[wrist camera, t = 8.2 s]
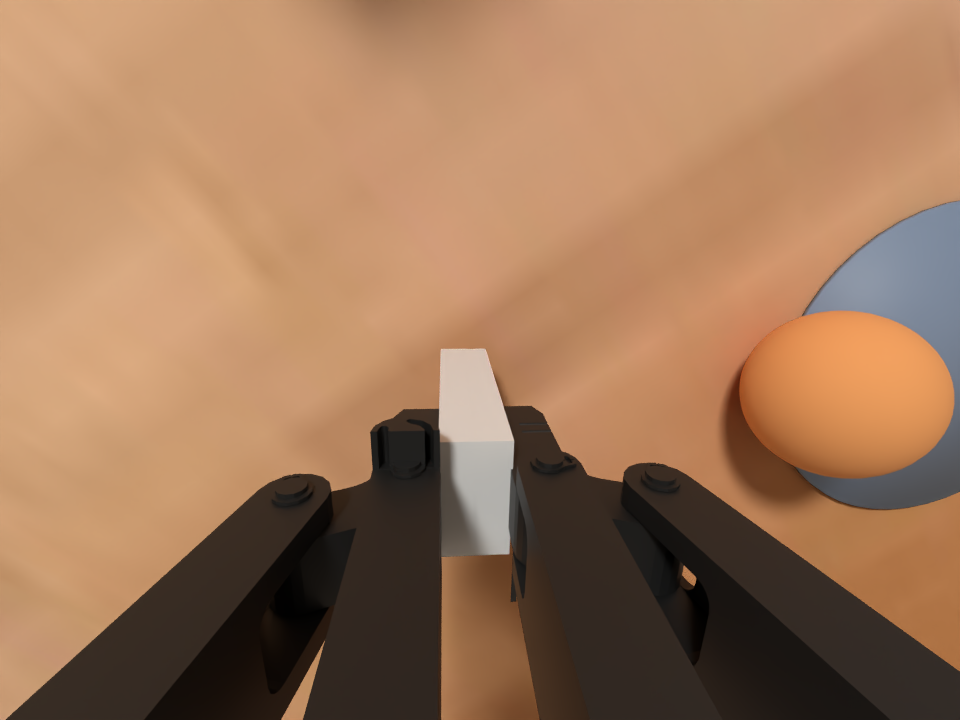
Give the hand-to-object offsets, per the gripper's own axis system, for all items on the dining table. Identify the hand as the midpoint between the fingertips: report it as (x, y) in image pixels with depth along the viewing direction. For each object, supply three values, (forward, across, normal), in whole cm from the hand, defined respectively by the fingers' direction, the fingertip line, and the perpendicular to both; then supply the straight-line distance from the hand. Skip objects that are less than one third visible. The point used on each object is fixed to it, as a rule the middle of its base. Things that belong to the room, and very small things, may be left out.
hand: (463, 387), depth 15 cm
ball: (-1, -12, 0) cm, 12 cm away
